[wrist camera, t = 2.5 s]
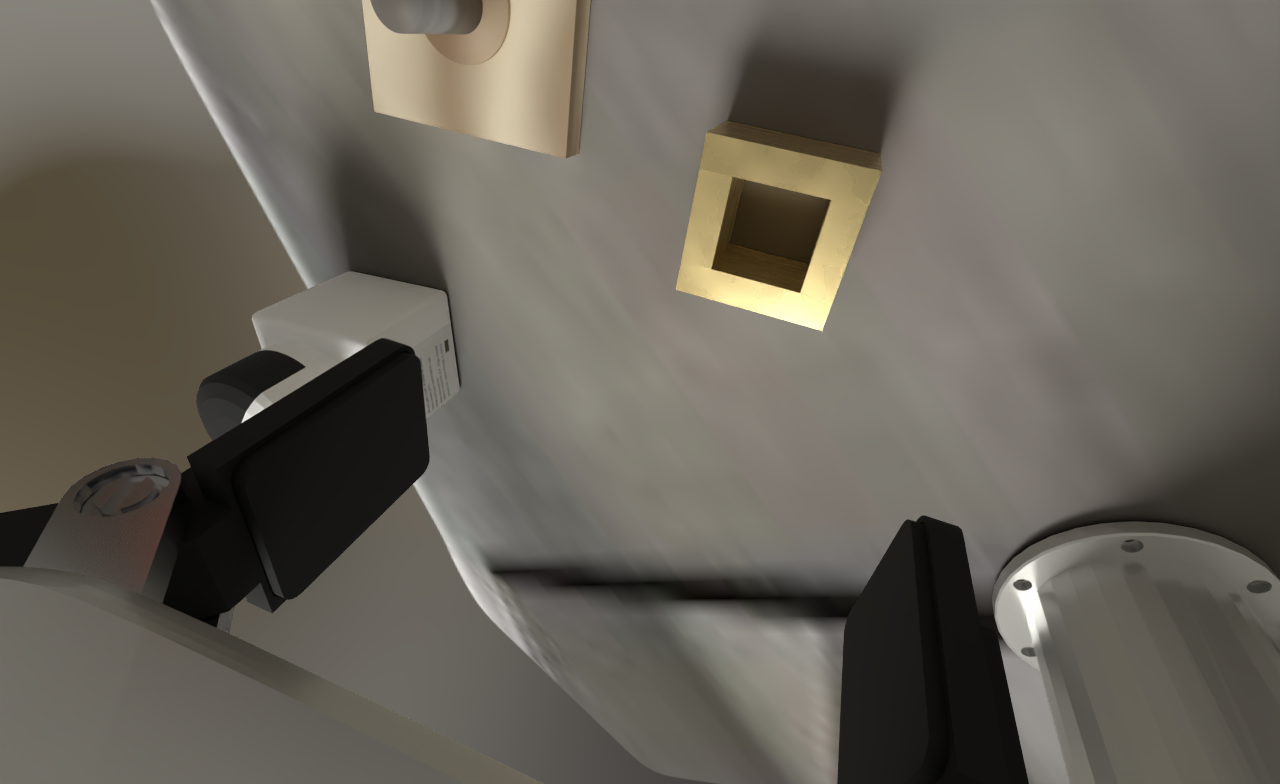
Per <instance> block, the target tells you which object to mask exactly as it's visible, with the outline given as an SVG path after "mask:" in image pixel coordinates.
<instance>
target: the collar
mask: <svg viewBox="0 0 1280 784" xmlns="http://www.w3.org/2000/svg"><path fill="white" fill-rule="evenodd" d="M881 172H882V168H881V155H880V153H875V152H870V151H866V150H861V149H857V148H852V147H847V146H843V145H838V144H834V143H829V142H824V141H820V140H815V139H810V138H806V137H801V136H797V135H792V134H787V133H783V132H778V131H774V130H769V129H764V128H760V127H755V126H750V125H746V124H741V123H737V122H732V121H726V122H724V123H722V124H720V125H719V126H717V127H715V128H713V129H712V130H710V131H708V132H707V134H706V139H705V144H704V149H703V154H702V159H701V164H700V169H699V174H698V180H697V185H696V190H695V195H694V200H693V205H692V210H691V215H690V220H689V225H688V230H687V235H686V240H685V245H684V250H683V255H682V261H681V266H680V271H679V276H678V281H677V286H676V290H679V291H683V292H686V293H690V294H693V295H697V296H700V297H704V298H708V299H711V300H715V301H718V302H722V303H725V304H729V305H732V306H736V307H739V308H743V309H747V310H750V311H754V312H757V313H761V314H764V315H768V316H771V317H775V318H779V319H782V320H786V321H789V322H793V323H796V324H800V325H803V326H807V327H810V328H814V329H818V330H821V331H822V329H823V327H824V324H825V321H826V319H827V316H828V313H829V311H830V308H831V305H832V303H833V300H834V297H835V295H836V292H837V289H838V287H839V284H840V281H841V279H842V276H843V273H844V271H845V268H846V265H847V263H848V260H849V257H850V255H851V252H852V249H853V247H854V244H855V241H856V239H857V236H858V233H859V230H860V228H861V225H862V222H863V220H864V217H865V214H866V212H867V209H868V206H869V204H870V201H871V198H872V196H873V193H874V190H875V188H876V185H877V182H878V180H879V177H880V174H881ZM745 180H749V181H753V182H757V183H761V184H766V185H770V186H774V187H778V188H783V189H787V190H791V191H795V192H800V193H804V194H808V195H812V196H817V197H821V198H825V199H829V200H830V201H829V204H828V207H827V210H826V213H825V216H824V219H823V222H822V225H821V228H820V231H819V234H818V237H817V240H816V243H815V246H814V249H813V252H812V255H811V258H810V261H809V264H808V263H804V262H800V261H796V260H792V259H789V258H785V257H781V256H777V255H773V254H769V253H765V252H762V251H758V250H754V249H750V248H746V247H742V246H739V245H735V244H731V243H730V239H731V234H732V230H733V226H734V222H735V218H736V214H737V210H738V206H739V202H740V198H741V193H742V189H743V185H744V181H745Z"/></svg>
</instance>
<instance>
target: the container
mask: <svg viewBox="0 0 1280 784" xmlns="http://www.w3.org/2000/svg"><path fill="white" fill-rule="evenodd" d="M252 322H253V325H254V327H255V330H256V333H257V336H258V339H259V342H260V344H261V347H262V349H261V350H259V351H257V352H255V353H254V354H252V355H250V356H248V357H246V358H244V359H242V360H240V361H238V362H236V363H234V364H232V365H230V366H228V367H226V368H224V369H222V370H220V371H218V372H216V373H214V374H212V375H210V376H209V377H207V378H205V379H204V380H203V381H202V383H201V384H200V388H199V391H198V394H197V400H196V401H197V408H198V412H199V415H200V418H201V420H202V422H203V424H204V426H205V428H206V431H207V432H208V434H209V436H210V437H211V439H212V440H215V439H217V438H218V437H220V436H221V435H223V434H225V433H226V432H228V431H230V430H231V429H233V428H234V427H236V426H238V425H239V424H241V423H243V422H244V421H246V420H247V419H249V418H251V417H252V416H254V415H256V414H257V413H259V412H260V411H262V410H264V409H265V408H267V407H269V406H270V405H272V404H274V403H275V402H277V401H278V400H280V399H282V398H283V397H285V396H287V395H288V394H290V393H291V392H293V391H295V390H296V389H298V388H300V387H301V386H303V385H304V384H306V383H308V382H309V381H311V380H313V379H314V378H316V377H317V376H319V375H321V374H322V373H324V372H326V371H327V370H329V369H330V368H332V367H334V366H335V365H337V364H339V363H340V362H342V361H343V360H345V359H347V358H348V357H350V356H352V355H353V354H355V353H357V352H358V351H360V350H361V349H363V348H365V347H366V346H368V345H370V344H371V343H373V342H374V341H376V340H378V339H381V338H387V339H390V340H393V341H396V342H399V343H402V344H405V345H408V346H410V347H412V348H413V350H414V351H415V355H416V356H417V357H418V358H419V359H420V362H421V371H422V381H423V392H424V403H425V414H426V419H427V418H429V417H430V416H431V415H432V414H433V413H434V412H436V411H437V410H438V409H439V408H440V407H441V406H443V405H444V404H445V403H446V402H447V401H448V400H450V399H451V398H452V397H453V396H454V395H455V394H457V393H458V392H459V390H460V386H459V379H458V372H457V365H456V358H455V350H454V343H453V336H452V329H451V321H450V314H449V307H448V300H447V295H446V293H445V292H444V291H442V290H438V289H433V288H429V287H424V286H419V285H414V284H410V283H405V282H400V281H396V280H391V279H386V278H381V277H377V276H372V275H367V274H362V273H358V272H353V271H350V272H346V273H343V274H341V275H339V276H337V277H334V278H332V279H330V280H328V281H325V282H323V283H321V284H319V285H316V286H314V287H312V288H310V289H307V290H305V291H303V292H301V293H299V294H296V295H294V296H291V297H289V298H287V299H285V300H282V301H280V302H278V303H276V304H274V305H271V306H269V307H267V308H264V309H262V310H260V311H258V312H256V313H254V314H253V316H252Z"/></svg>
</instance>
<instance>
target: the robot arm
mask: <svg viewBox="0 0 1280 784" xmlns="http://www.w3.org/2000/svg"><path fill="white" fill-rule="evenodd" d="M429 457H430V456H429V446H428V435H427V424H426V414H425V403H424V392H423V381H422V371H421V362H420V359H419V358H418V357H417V356H416V355H415V351H414V350H413V348H412V347H410V346H408V345H405V344H402V343H399V342H396V341H393V340H390V339H387V338H381V339H378V340H376V341H374V342H373V343H371V344H370V345H368V346H366V347H365V348H363V349H361V350H360V351H358V352H357V353H355V354H353V355H352V356H350V357H348V358H347V359H345V360H343V361H342V362H340V363H339V364H337V365H335V366H334V367H332V368H330V369H329V370H327V371H326V372H324V373H322V374H321V375H319V376H317V377H316V378H314V379H313V380H311V381H309V382H308V383H306V384H304V385H303V386H301V387H300V388H298V389H296V390H295V391H293V392H291V393H290V394H288V395H287V396H285V397H283V398H282V399H280V400H278V401H277V402H275V403H274V404H272V405H270V406H269V407H267V408H265V409H264V410H262V411H260V412H259V413H257V414H256V415H254V416H252V417H251V418H249V419H247V420H246V421H244V422H243V423H241V424H239V425H238V426H236V427H234V428H233V429H231V430H230V431H228V432H226V433H225V434H223V435H221V436H220V437H218V438H217V439H215V440H213V441H212V442H210V443H208V444H207V445H205V446H204V447H202V448H200V449H199V450H197V451H195V452H194V453H192V454H191V455H189V456H187V458H188V460H189V463H190V465H191V468H189V469H187V470H186V471H184V472H183V473H181V472H180V470H179V468H178V467H177V465H175V464H173V463H172V462H170V461H168V460H164V459H158V458H136V459H131V460H126V461H120V462H116V463H114V464H111V465H108V466H105V467H102V468H100V469H98V470H96V471H94V472H92V473H90V474H88V475H86V476H84V477H83V478H81V479H80V480H79V481H77V482H76V483H75V484H73V485H72V486H71V487H70V488H69V489H68V491H67V492H66V493H65V494H64V495H63V497H62V498H61V500H60V502H59V503H57V504H50V505H45V506H39V507H33V508H27V509H22V510H16V511H10V512H4V513H0V784H543V783H541V782H539V781H537V780H535V779H533V778H531V777H529V776H527V775H525V774H523V773H520V772H518V771H516V770H514V769H512V768H510V767H508V766H506V765H504V764H502V763H500V762H498V761H495V760H493V759H491V758H489V757H487V756H485V755H483V754H481V753H479V752H477V751H474V750H473V749H470V748H468V747H466V746H464V745H462V744H460V743H458V742H456V741H454V740H452V739H450V738H448V737H446V736H443V735H441V734H439V733H437V732H435V731H433V730H431V729H429V728H427V727H425V726H423V725H420V724H418V723H416V722H414V721H412V720H410V719H408V718H406V717H404V716H401V715H399V714H397V713H395V712H393V711H391V710H389V709H387V708H385V707H382V706H380V705H378V704H376V703H374V702H372V701H370V700H368V699H366V698H364V697H362V696H359V695H357V694H355V693H353V692H351V691H349V690H347V689H345V688H343V687H341V686H339V685H336V684H334V683H332V682H330V681H328V680H326V679H324V678H322V677H320V676H317V675H315V674H313V673H311V672H309V671H307V670H304V669H303V668H301V667H298V666H296V665H294V664H292V663H290V662H288V661H286V660H284V659H281V658H279V657H277V656H275V655H273V654H270V653H269V652H266V651H264V650H262V649H260V648H258V647H256V646H254V645H252V644H250V643H247V642H245V641H243V640H241V639H239V638H237V637H235V636H233V635H230V634H229V631H230V626H231V621H232V616H233V612H234V607H235V605H236V604H237V603H239V602H240V601H241V600H242V599H243V598H244V597H245V596H246V599H247V601H248V602H249V603H252V604H253V605H256V606H258V607H260V608H262V609H265V610H266V611H269V612H271V613H273V612H274V611H275V610H276V609H277V608H278V607H279V606H280V605H281V604H282V603H284V602H285V601H286V600H287V599H288V600H289V599H293V598H295V597H297V596H298V595H299V594H301V593H302V592H303V591H304V590H305V589H306V588H307V587H308V586H309V585H310V584H311V583H312V582H313V581H314V580H315V579H316V578H317V577H318V576H319V575H320V574H321V573H322V572H323V571H324V570H325V569H326V568H327V567H329V565H331V563H333V562H334V561H335V560H336V559H337V558H338V557H339V556H340V555H341V554H342V553H343V552H344V551H345V550H346V549H347V548H348V547H349V546H350V545H351V544H352V543H353V542H354V541H355V540H356V539H357V538H358V537H359V536H360V535H361V534H362V533H363V532H364V531H365V530H366V529H367V528H368V527H369V526H370V525H371V524H372V523H374V522H375V520H377V519H378V517H380V516H381V515H382V514H383V513H384V512H385V511H386V510H387V509H388V508H389V507H390V506H391V505H392V504H393V503H394V502H395V501H396V500H397V499H398V498H399V497H400V496H401V495H402V494H403V493H404V492H405V491H406V490H407V489H408V488H409V487H410V486H411V485H412V484H413V483H414V482H415V481H416V480H417V479H419V478H420V477H421V476H422V474H423V473H424V472H425V470H426V469H427V466H428V464H429ZM992 603H993V610H994V616H995V620H996V623H997V627H998V630H999V632H1000V634H1001V636H1002V637H1003V639H1004V640H1005V642H1006V644H1007V645H1008V646H1009V647H1010V648H1011V649H1012V650H1013V652H1014V653H1015V654H1016V655H1017V656H1019V657H1020V658H1021V659H1023V660H1024V661H1025V662H1027V663H1028V664H1030V665H1031V666H1032V667H1034V668H1035V669H1037V670H1039V671H1040V673H1041V677H1042V681H1043V684H1044V688H1045V692H1046V696H1047V699H1048V703H1049V707H1050V711H1051V714H1052V718H1053V722H1054V726H1055V729H1056V733H1057V737H1058V741H1059V744H1060V748H1061V752H1062V756H1063V759H1064V763H1065V767H1066V771H1067V774H1068V778H1069V782H1070V784H1280V580H1279V578H1278V577H1277V576H1276V575H1275V574H1274V572H1273V571H1272V570H1271V569H1270V568H1269V566H1268V565H1267V564H1266V563H1265V562H1264V561H1262V560H1261V559H1260V558H1258V557H1257V556H1255V555H1254V554H1253V553H1251V552H1250V551H1249V550H1247V549H1246V548H1244V547H1242V546H1240V545H1238V544H1236V543H1233V542H1231V541H1229V540H1227V539H1225V538H1223V537H1221V536H1217V535H1214V534H1211V533H1208V532H1205V531H1201V530H1198V529H1195V528H1190V527H1184V526H1178V525H1173V524H1167V523H1155V522H1137V521H1130V522H1114V523H1101V524H1096V525H1090V526H1085V527H1079V528H1075V529H1071V530H1068V531H1065V532H1062V533H1059V534H1056V535H1052V536H1050V537H1048V538H1046V539H1044V540H1042V541H1040V542H1037V543H1035V544H1033V545H1031V546H1030V547H1028V548H1027V549H1025V550H1024V551H1023V552H1021V553H1020V554H1018V555H1017V556H1016V557H1014V558H1013V559H1012V560H1011V561H1010V563H1009V564H1008V565H1007V566H1006V567H1005V568H1004V569H1003V570H1002V572H1001V574H1000V575H999V577H998V579H997V581H996V583H995V585H994V591H993V596H992ZM838 784H1029V782H1028V778H1027V773H1026V768H1025V764H1024V759H1023V754H1022V750H1021V745H1020V740H1019V735H1018V731H1017V726H1016V721H1015V717H1014V712H1013V707H1012V703H1011V698H1010V693H1009V688H1008V684H1007V679H1006V674H1005V670H1004V665H1003V660H1002V656H1001V651H1000V646H999V641H998V638H997V635H996V632H995V630H994V629H993V627H992V626H991V625H990V624H988V623H986V622H983V621H980V620H979V617H978V611H977V606H976V601H975V595H974V590H973V585H972V579H971V574H970V569H969V563H968V558H967V553H966V547H965V542H964V537H963V533H962V530H961V529H960V528H959V527H958V526H955V525H952V524H949V523H946V522H943V521H940V520H937V519H934V518H931V517H927V516H921V517H920V518H918V520H917V521H916V522H915V521H912V520H906V521H905V522H904V523H903V524H902V526H901V528H900V529H899V531H898V533H897V534H896V536H895V538H894V539H893V541H892V543H891V544H890V546H889V548H888V550H887V551H886V553H885V555H884V556H883V558H882V560H881V561H880V563H879V565H878V566H877V568H876V570H875V571H874V573H873V575H872V576H871V578H870V580H869V581H868V583H867V585H866V586H865V588H864V590H863V592H862V593H861V595H860V597H859V598H858V600H857V602H856V603H855V605H854V607H853V608H852V610H851V612H850V614H849V616H848V618H847V621H846V625H845V630H844V645H843V669H842V692H841V715H840V738H839V761H838Z"/></svg>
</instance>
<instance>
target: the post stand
mask: <svg viewBox="0 0 1280 784" xmlns="http://www.w3.org/2000/svg"><path fill="white" fill-rule="evenodd" d="M362 5H363V14H364V23H365V32H366V41H367V50H368V59H369V68H370V77H371V86H372V95H373V104H374V112H378V113H382V114H386V115H390V116H394V117H398V118H402V119H406V120H410V121H414V122H419V123H423V124H427V125H431V126H435V127H439V128H443V129H447V130H451V131H455V132H460V133H464V134H468V135H472V136H476V137H480V138H484V139H488V140H492V141H496V142H501V143H505V144H509V145H513V146H517V147H521V148H525V149H529V150H533V151H537V152H541V153H546V154H550V155H554V156H558V157H562V158H568V157H571V156H573V155H576V154H579V144H580V131H581V118H582V106H583V93H584V81H585V68H586V55H587V43H588V30H589V18H590V5H591V0H362Z"/></svg>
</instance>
